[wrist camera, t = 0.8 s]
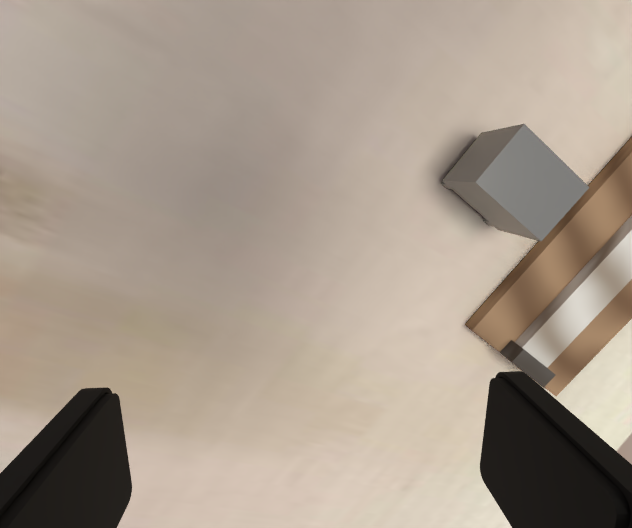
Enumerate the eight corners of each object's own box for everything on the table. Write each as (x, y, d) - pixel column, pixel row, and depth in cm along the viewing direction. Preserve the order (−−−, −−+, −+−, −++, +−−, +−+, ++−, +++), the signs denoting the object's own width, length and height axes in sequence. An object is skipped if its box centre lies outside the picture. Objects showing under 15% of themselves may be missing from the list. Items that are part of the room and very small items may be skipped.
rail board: (645, 121, 34) (685, 115, 30) (722, 204, 36) (767, 207, 33) (464, 324, 37) (482, 339, 34) (546, 388, 39) (570, 408, 36)
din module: (475, 134, 33) (524, 123, 26) (532, 188, 34) (594, 191, 28) (437, 180, 34) (475, 182, 27) (495, 231, 35) (545, 245, 28)
